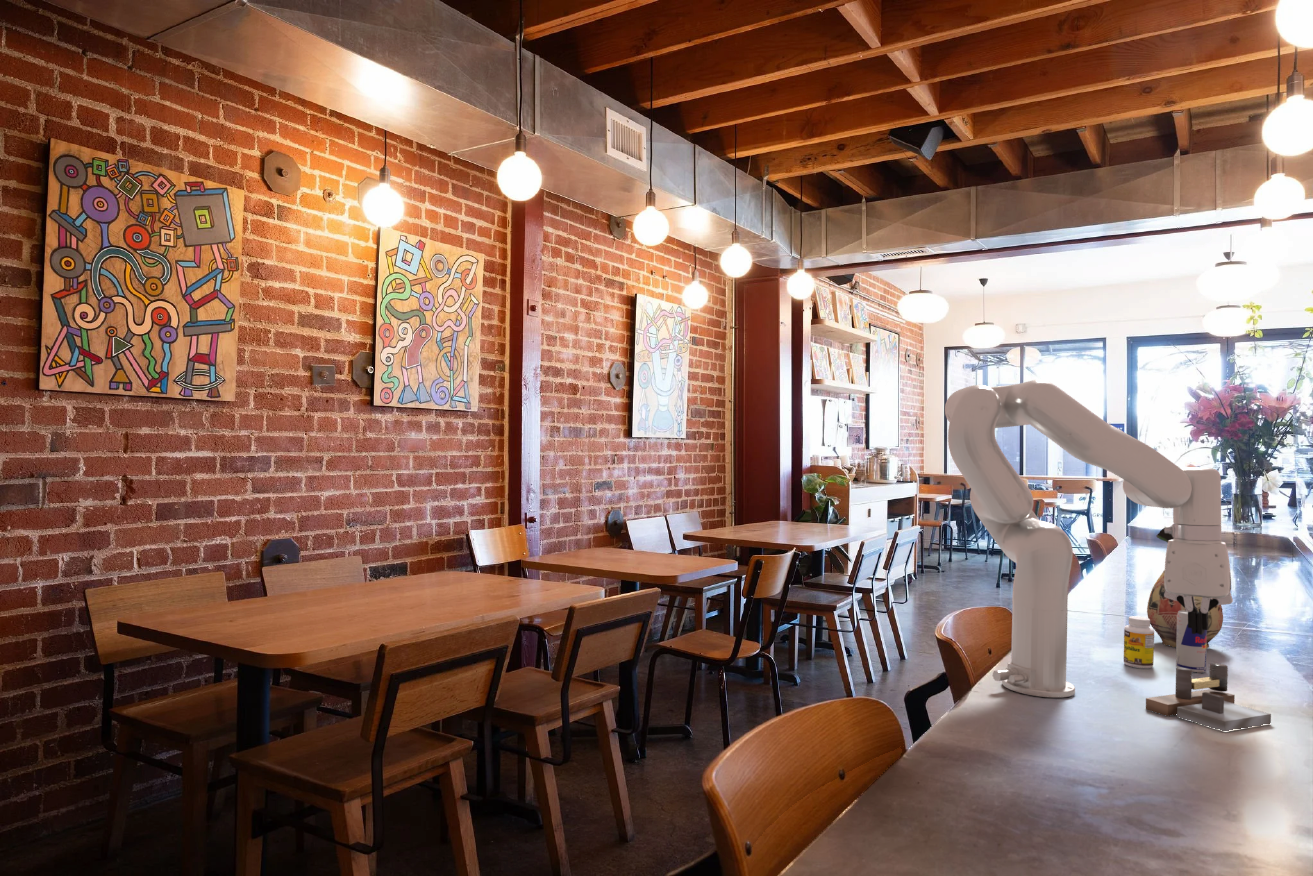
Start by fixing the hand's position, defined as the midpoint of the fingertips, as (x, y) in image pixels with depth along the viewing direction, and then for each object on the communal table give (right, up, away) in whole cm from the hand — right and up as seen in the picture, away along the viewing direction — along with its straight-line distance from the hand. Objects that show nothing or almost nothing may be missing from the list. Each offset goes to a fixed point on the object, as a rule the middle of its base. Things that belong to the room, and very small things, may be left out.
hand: (1198, 632), depth 156 cm
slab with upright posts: (-4, -12, -11) cm, 16 cm away
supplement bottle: (+2, -13, +23) cm, 27 cm away
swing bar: (-2, -9, -5) cm, 11 cm away
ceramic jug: (+25, -14, +43) cm, 52 cm away
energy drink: (+12, -13, +21) cm, 27 cm away
